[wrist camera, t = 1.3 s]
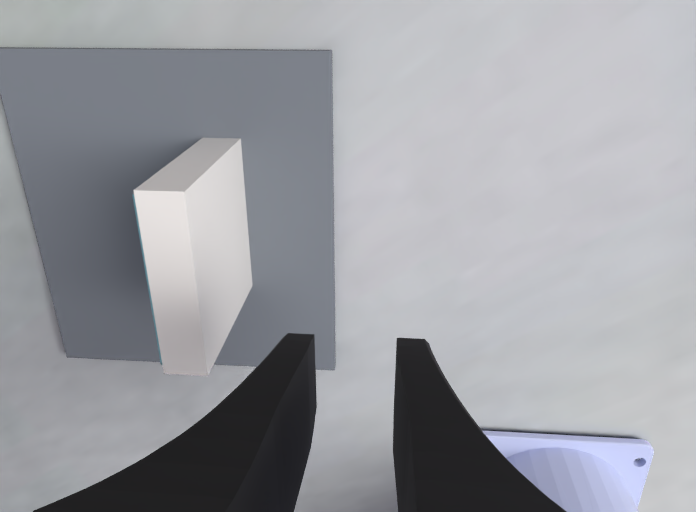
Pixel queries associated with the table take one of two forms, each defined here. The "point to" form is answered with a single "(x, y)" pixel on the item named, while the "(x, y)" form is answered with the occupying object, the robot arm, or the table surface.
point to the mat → (154, 154)
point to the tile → (195, 252)
